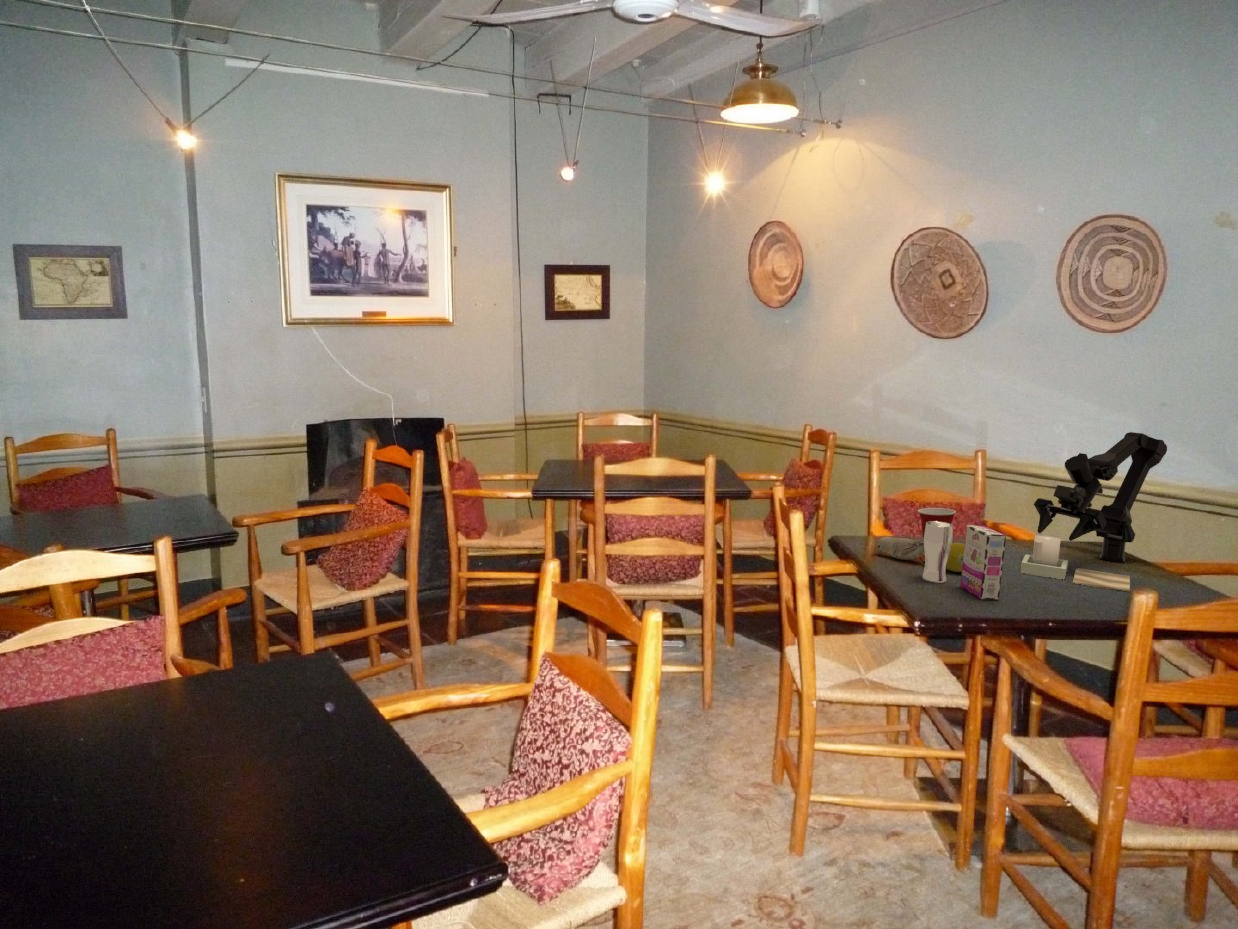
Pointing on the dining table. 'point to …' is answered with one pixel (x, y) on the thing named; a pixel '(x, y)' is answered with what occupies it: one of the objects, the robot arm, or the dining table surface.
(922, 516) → the plastic cup
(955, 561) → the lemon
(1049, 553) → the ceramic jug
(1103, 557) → the robot arm
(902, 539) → the decorative bird
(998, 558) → the candy bar box
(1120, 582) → the serving board
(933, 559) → the beer glass
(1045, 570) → the glass holder
